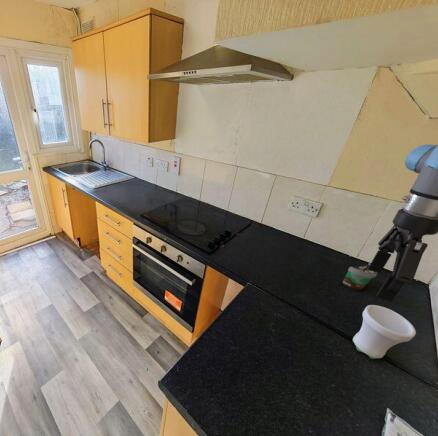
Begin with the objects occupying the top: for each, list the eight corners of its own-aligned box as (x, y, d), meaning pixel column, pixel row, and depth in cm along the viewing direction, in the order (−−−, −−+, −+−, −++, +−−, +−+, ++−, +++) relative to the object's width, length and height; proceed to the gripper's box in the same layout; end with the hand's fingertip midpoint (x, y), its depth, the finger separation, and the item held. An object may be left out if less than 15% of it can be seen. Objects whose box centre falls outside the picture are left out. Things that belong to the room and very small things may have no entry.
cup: (376, 339, 77) (400, 310, 71) (397, 371, 68) (427, 342, 61) (339, 329, 80) (358, 300, 74) (353, 359, 71) (377, 329, 64)
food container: (353, 294, 96) (365, 276, 92) (339, 283, 101) (349, 266, 97) (373, 289, 99) (386, 271, 95) (359, 279, 105) (370, 262, 100)
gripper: (388, 195, 64) (355, 257, 73) (416, 228, 45) (368, 305, 55) (426, 202, 60) (386, 266, 70) (474, 240, 42) (411, 321, 51)
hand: (378, 283), depth 62 cm, fingers open, 13 cm apart
